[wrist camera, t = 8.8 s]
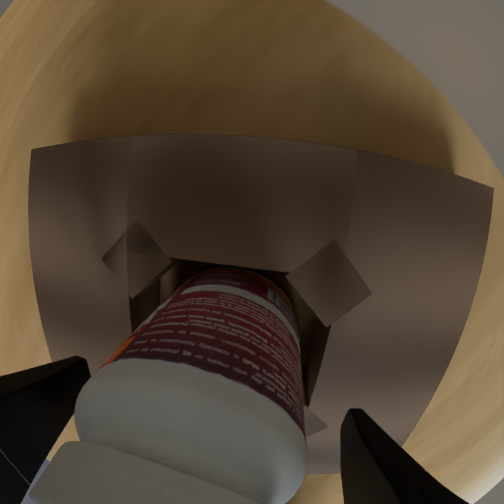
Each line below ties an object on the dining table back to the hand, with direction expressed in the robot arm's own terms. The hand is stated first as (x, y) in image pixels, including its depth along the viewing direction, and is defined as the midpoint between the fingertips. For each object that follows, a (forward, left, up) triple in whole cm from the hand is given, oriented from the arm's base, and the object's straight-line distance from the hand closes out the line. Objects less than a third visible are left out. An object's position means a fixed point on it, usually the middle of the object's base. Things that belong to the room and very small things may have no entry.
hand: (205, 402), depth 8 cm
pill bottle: (0, 0, -6) cm, 6 cm away
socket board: (0, 0, -6) cm, 6 cm away
